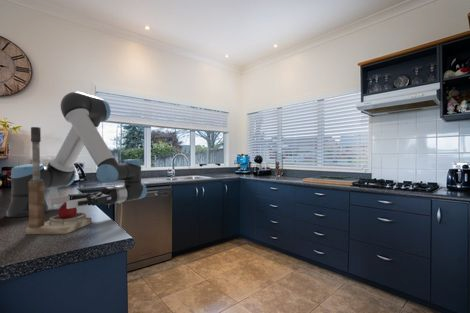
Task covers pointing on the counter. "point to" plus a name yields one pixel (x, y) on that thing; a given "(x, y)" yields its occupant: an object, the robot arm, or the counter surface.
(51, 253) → the counter surface
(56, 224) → the press
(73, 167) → the robot arm
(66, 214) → the onion
